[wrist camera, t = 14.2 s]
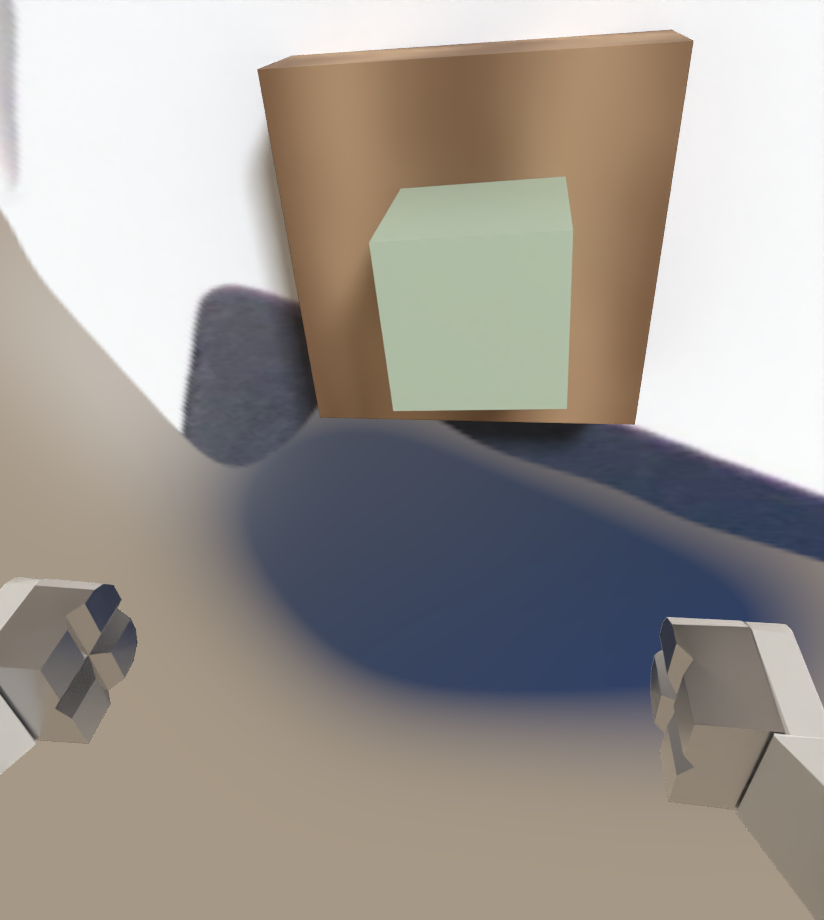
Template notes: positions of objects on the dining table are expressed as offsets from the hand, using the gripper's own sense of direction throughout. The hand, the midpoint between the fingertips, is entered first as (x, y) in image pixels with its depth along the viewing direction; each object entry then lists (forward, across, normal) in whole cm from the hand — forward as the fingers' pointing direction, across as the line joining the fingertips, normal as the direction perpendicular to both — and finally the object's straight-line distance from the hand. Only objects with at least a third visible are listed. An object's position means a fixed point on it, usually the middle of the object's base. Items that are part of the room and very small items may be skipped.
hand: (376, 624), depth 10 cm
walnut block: (+19, 0, 0) cm, 19 cm away
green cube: (+15, -1, 0) cm, 15 cm away
